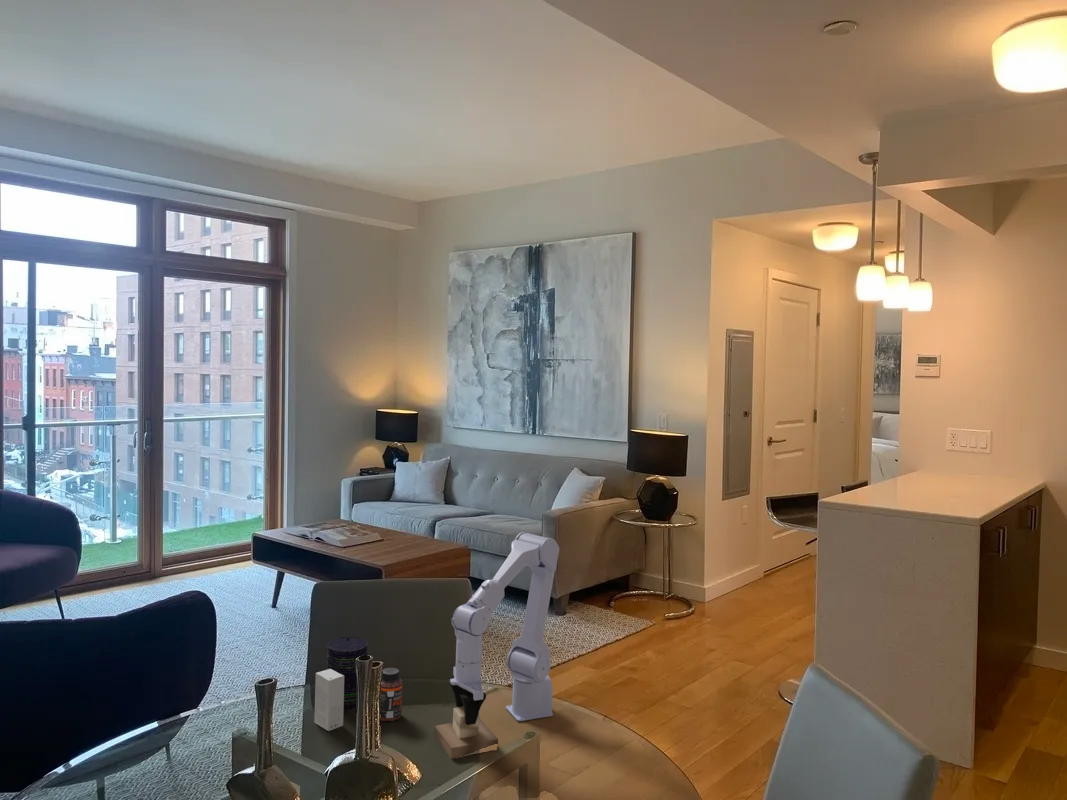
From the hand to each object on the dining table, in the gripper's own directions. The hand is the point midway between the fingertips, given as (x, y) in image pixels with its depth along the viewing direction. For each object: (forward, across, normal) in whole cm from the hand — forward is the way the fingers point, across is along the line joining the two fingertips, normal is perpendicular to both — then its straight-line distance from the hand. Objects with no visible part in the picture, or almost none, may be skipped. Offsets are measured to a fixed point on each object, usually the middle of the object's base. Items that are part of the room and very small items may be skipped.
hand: (466, 718), depth 178 cm
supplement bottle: (+6, -18, -13) cm, 23 cm away
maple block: (+3, 0, 0) cm, 3 cm away
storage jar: (+6, -29, -21) cm, 36 cm away
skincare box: (+6, -19, -27) cm, 34 cm away
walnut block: (+6, 0, 0) cm, 6 cm away
